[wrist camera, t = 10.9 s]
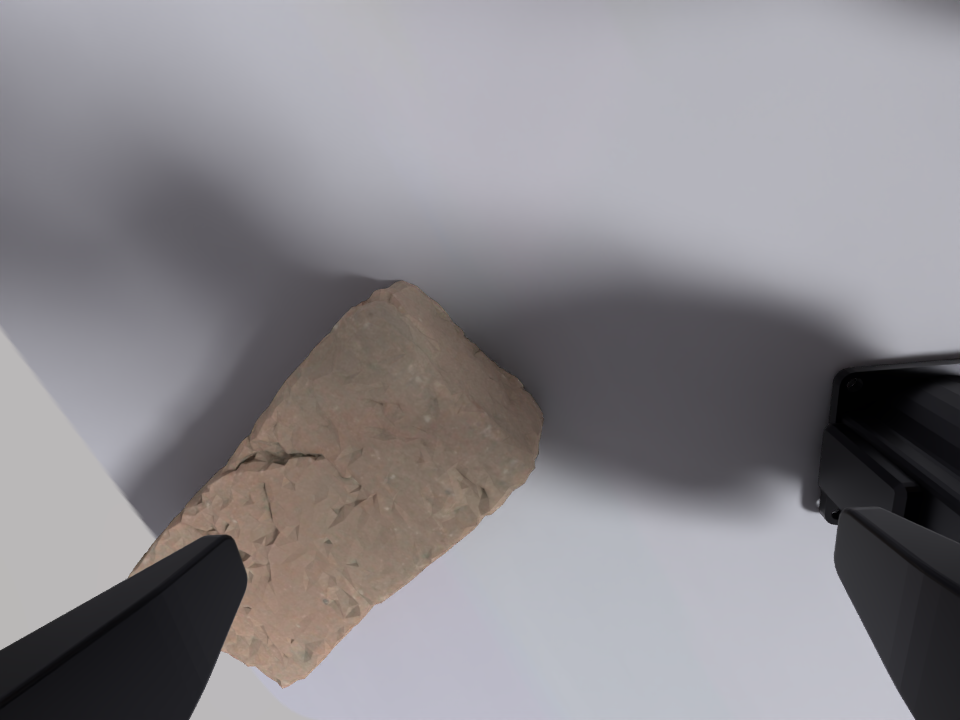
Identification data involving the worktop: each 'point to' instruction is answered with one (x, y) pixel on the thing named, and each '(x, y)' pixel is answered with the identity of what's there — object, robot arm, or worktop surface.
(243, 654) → the brick
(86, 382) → the worktop surface
